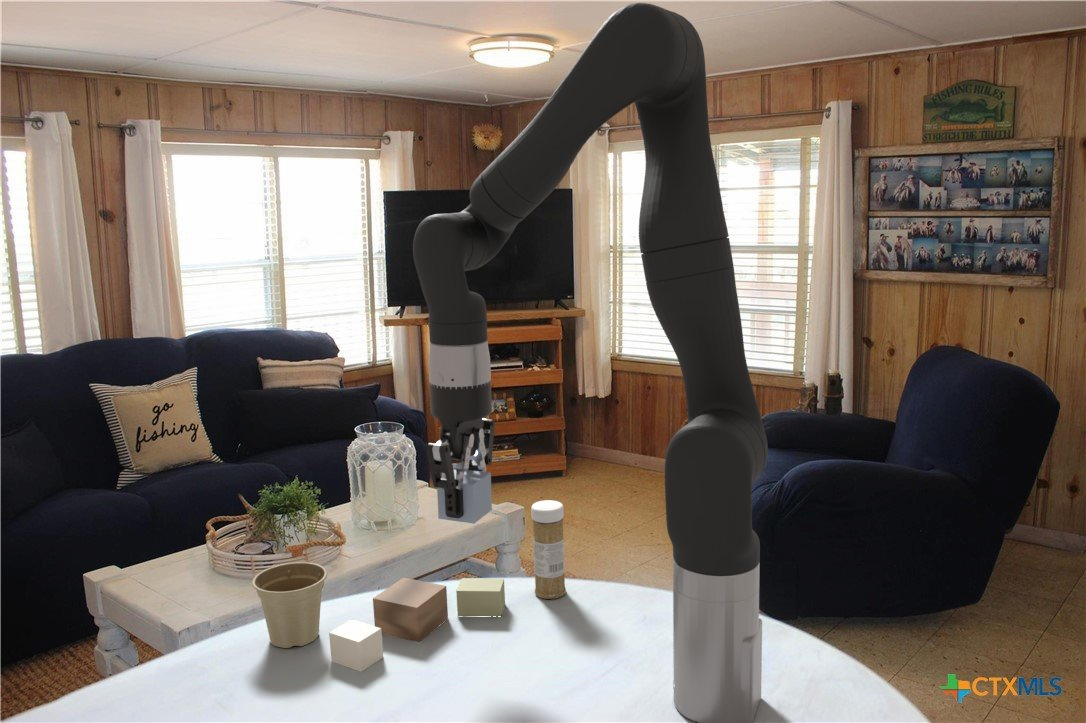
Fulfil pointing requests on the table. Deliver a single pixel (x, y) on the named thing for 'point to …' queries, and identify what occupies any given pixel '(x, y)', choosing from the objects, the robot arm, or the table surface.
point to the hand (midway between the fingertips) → (465, 508)
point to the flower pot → (291, 601)
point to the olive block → (480, 597)
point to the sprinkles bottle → (548, 549)
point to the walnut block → (410, 609)
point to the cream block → (356, 645)
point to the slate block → (470, 497)
